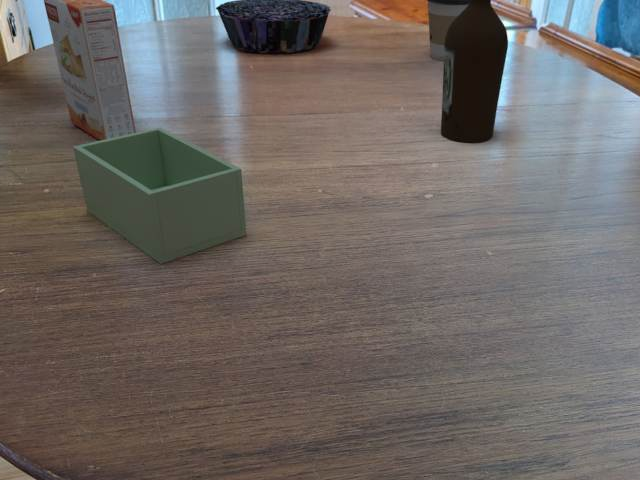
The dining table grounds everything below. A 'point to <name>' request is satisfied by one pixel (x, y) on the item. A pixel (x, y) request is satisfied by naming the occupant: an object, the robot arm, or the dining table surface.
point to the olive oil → (473, 73)
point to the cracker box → (91, 66)
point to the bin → (162, 192)
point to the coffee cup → (442, 22)
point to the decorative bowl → (274, 24)
